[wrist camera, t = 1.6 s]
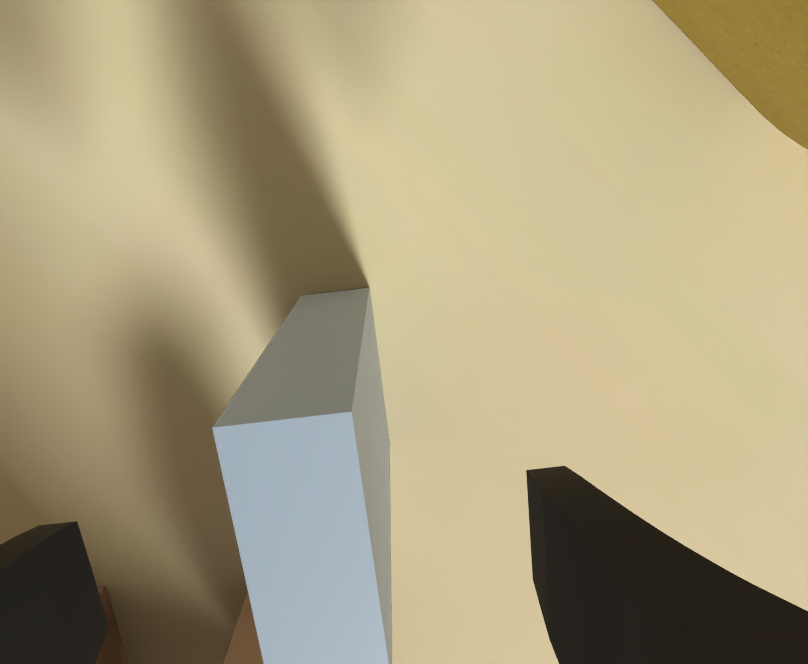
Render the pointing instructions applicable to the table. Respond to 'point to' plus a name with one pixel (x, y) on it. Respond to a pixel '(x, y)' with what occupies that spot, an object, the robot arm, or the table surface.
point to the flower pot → (755, 52)
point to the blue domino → (314, 486)
